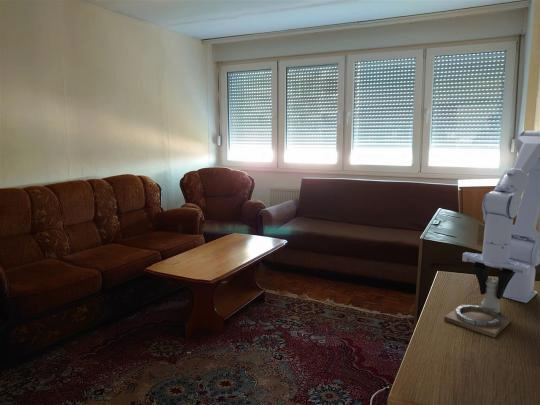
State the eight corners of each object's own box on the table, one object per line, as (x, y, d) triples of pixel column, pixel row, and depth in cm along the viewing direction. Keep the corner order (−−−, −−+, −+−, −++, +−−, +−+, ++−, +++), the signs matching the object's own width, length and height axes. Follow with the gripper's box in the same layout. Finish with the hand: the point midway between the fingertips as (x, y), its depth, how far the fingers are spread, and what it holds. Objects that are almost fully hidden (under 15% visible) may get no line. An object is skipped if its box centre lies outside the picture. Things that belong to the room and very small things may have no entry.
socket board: (461, 307, 105) (462, 300, 105) (510, 322, 97) (510, 314, 97) (444, 320, 99) (444, 312, 98) (494, 337, 91) (495, 328, 90)
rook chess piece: (502, 315, 101) (506, 284, 99) (482, 313, 102) (485, 282, 100) (497, 307, 105) (500, 277, 104) (477, 305, 106) (480, 275, 104)
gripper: (459, 238, 103) (454, 291, 105) (525, 252, 92) (519, 309, 95) (470, 233, 107) (466, 283, 110) (535, 245, 97) (528, 300, 100)
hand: (491, 295), depth 103 cm, fingers closed on rook chess piece, 3 cm apart
